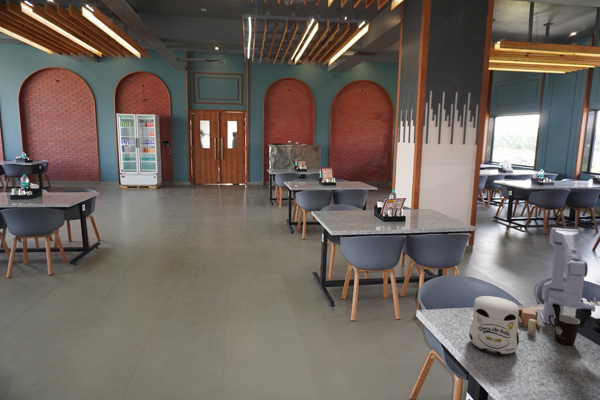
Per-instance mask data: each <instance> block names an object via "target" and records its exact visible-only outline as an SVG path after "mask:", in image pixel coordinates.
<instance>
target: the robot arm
mask: <svg viewBox="0 0 600 400" xmlns="http://www.w3.org/2000/svg"><path fill="white" fill-rule="evenodd" d="M579 241H580V231H579V230H578V229H577V228H575V229H572V228H560V227H551V229H550V232H549V244H550V245H552V246H553V260H552V267H551V279H550V280H549V281H546V282H544V283H543V285H542V286H543V287H542V290H541V297H542V300H543V301H544V303H543V311H542V313H540V317H541V319H542V321H543V323H544V324H549V325H551V323H550V322H549V316H550V315H554V316H555V317H556V323H557V324H559V316H560V314H562V315H564V310H565V307H566V308H572V309H573V308H574V309H577V310H578V309H579V310H580V319H579V321H580V324H579V328H580V329H583V328H584V327H585V324H586V322H587V320H589V318H590V317H591V316H592V314H593V313H595V312H596V306H595V304H589V303H585V302H583V301H582V299H583V298H582V297H583V292H584V290H583V289H584V282H585V278H586V277H588V276H587V275H588V270H589V268H588V263H587V261H585V260H583V257H582V253H581V251H580V250H579V249H578V248H577V244H578V243H579ZM550 320H551V322H552V324H553V325H554V326H555V324H554V317H551V318H550Z"/></svg>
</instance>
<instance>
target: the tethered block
mask: <svg viewBox="0 0 600 400" xmlns="http://www.w3.org/2000/svg"><path fill="white" fill-rule="evenodd" d="M521 310H522V312H521V320H522V327H527V335H529V336H536V330H537V328H536V322H537V321H536V313H535V312H536V310H533V309H527V308H521Z"/></svg>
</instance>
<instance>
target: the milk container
mask: <svg viewBox="0 0 600 400" xmlns="http://www.w3.org/2000/svg"><path fill="white" fill-rule="evenodd" d="M473 303H474V304H473V312H472V313H473V315H472V320H471V321H472V322H471V323H470V325H469V326H470V327H469V332H468V334H469V339H470V342H471V344H473V345H474V346H475V347H476V348H478V349H479V350H481V351H484V352H486V353H489V354H494V355H500V356H501V355H503V356H505V355H510V354H513V353H515V352H516V351H517V350H518V348H519V342H520V336H519V332H518V326H519V325H518V315H519V309H520V308H519V306H518V304H517V303H515V302H514V301H512V300H509V299H506V298H503V297H499V296H498V297H497V296H493V295H492V296H491V295H490V296H489V295H482V296H478V297H476V298H475V299H474V302H473Z"/></svg>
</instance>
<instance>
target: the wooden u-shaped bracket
mask: <svg viewBox="0 0 600 400" xmlns="http://www.w3.org/2000/svg"><path fill="white" fill-rule="evenodd" d="M521 312H522V308H521V309H520V308H519V315H518V325H517V326H518V328H522V327H523V326H522V320H521ZM535 313H536V321H537V322H536V330H537V331H538V332H540V330H541V323H540V321H539V319H538V314H539V312H538V311H535Z"/></svg>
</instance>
